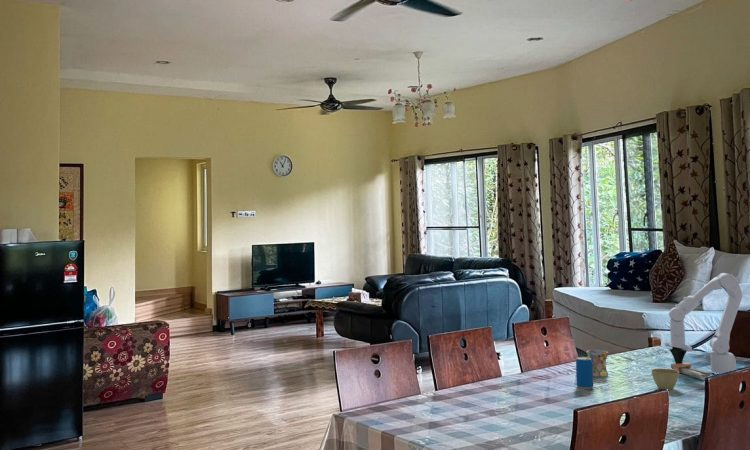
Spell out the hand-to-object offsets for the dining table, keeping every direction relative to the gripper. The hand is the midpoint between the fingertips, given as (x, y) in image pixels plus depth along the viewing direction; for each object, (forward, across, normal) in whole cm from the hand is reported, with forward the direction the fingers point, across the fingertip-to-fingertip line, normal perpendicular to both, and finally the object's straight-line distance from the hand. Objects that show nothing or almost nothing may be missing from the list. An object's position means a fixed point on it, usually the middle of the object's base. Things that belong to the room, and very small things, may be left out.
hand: (678, 365), depth 273 cm
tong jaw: (+2, +9, -2) cm, 10 cm away
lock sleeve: (+3, +2, 0) cm, 4 cm away
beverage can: (+3, +10, -54) cm, 56 cm away
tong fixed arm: (+3, +5, 0) cm, 6 cm away
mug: (+3, -6, -38) cm, 39 cm away
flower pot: (+3, +23, -26) cm, 35 cm away
